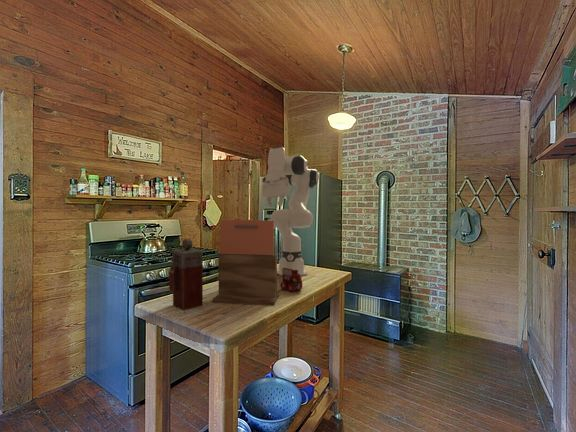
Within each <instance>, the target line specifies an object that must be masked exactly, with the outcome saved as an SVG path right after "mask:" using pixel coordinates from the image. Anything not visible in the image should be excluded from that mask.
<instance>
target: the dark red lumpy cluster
mask: <svg viewBox="0 0 576 432" xmlns="http://www.w3.org/2000/svg"><path fill="white" fill-rule="evenodd" d="M282 273H283V276H282V281H281V282H280V285H279V286H280V289H281V290H282V291H285V290H288V292H290V293H294V292H295V291H296V290H297V291H301V290H302V289H303V279H302V277H301V276H300V274H298V270H293V269H288V268H283V269H282Z"/></svg>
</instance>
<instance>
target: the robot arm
mask: <svg viewBox="0 0 576 432" xmlns="http://www.w3.org/2000/svg"><path fill="white" fill-rule="evenodd" d="M267 157H268V158H267V167H268V169H267V174H266V175H265V176H264V177H262V179H261V183H262V185H261V196H262V198H265V199H266V201H267V207H272V206H273V202H272V198H279V200H278V201H277V205H278V206H280V207H282V206H283V203H284V200H285V197H289V196H290V194H291V196H290V198H289V201H288V209H287V208H285V209H284V208H283V209H277V210H274V211H273V212H272V213H271V216H270V221H274V228H276V229H277V230H278V232H279V234H280V237H281V242H282V244H281V245H282V246H281V247H282V249H281V250H282V251H281V258H280V259H279V260H278V262H279V263H278V269H277V275H280V276H281V277H283V273H282V269H283V268H288V269H293V270H298V274H300V276H307V275H308V272H307V269H306V268H305V261H304V259H303V258H302V255H303V252H302V249H301V247H302V239H301V237H300V236H299V235H298V234H297V233H295V232H294V231H293V229H304V228H310V227H312V224H313V223H314V216H313V213H312V212H311V211H310V210H308V209H307V205H308V203H309V202H308V201H309V198H310V188H311V189H314V187H315V186H316V185H317V184H318V183H319V179H320V173H319V171H318V170H317V169H314V168H308V167H309V165H308V164H309V162H308V160H307V159H305V157H304V156H303V155H292V156H291V155H290V156H289V155H288V156H286V149H285V147H283V146H271V147H270V148H269V150H268V155H267ZM291 186H296V187H295V189H294V190H293V192H292V193H291Z"/></svg>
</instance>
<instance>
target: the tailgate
mask: <svg viewBox="0 0 576 432" xmlns="http://www.w3.org/2000/svg"><path fill="white" fill-rule="evenodd" d="M219 221H220V223H219V224H220V225H219V227H220V228H219V229H220V230H219V231H220V232H219V233H220V239H219V240H220V253H222V254H257V255H274V254H275V226H274V221H271V220H262V219H260V220H258V219H256V220H255V219H254V220H253V219H252V220H251V219H249V220H248V219H246V220H245V219H243V220H242V219H220V220H219Z"/></svg>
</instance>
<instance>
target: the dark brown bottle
mask: <svg viewBox="0 0 576 432" xmlns="http://www.w3.org/2000/svg"><path fill="white" fill-rule="evenodd" d="M192 241H193V240H192V239H191V238H184V239H183V241H182V249H181V248H179V249H174V250H172V264H170V268H169V271H168V289H169V290H170V291H171V292H172V301H173V302H172V305H174V306H173V307H175V306H177V307H178V309H179V308H180V310H181V309H182V310H181V311H186V309H187V310H190V308H191V309H194V308H198V307H202V306H203V302H204V301H203V299H204V298H203V297H204V296H203V294H204V293H203V288H204V287H203V286H204V285H203V251H202V250H201V249H197V248H194V247H193V242H192ZM177 307H176V308H177Z"/></svg>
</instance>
